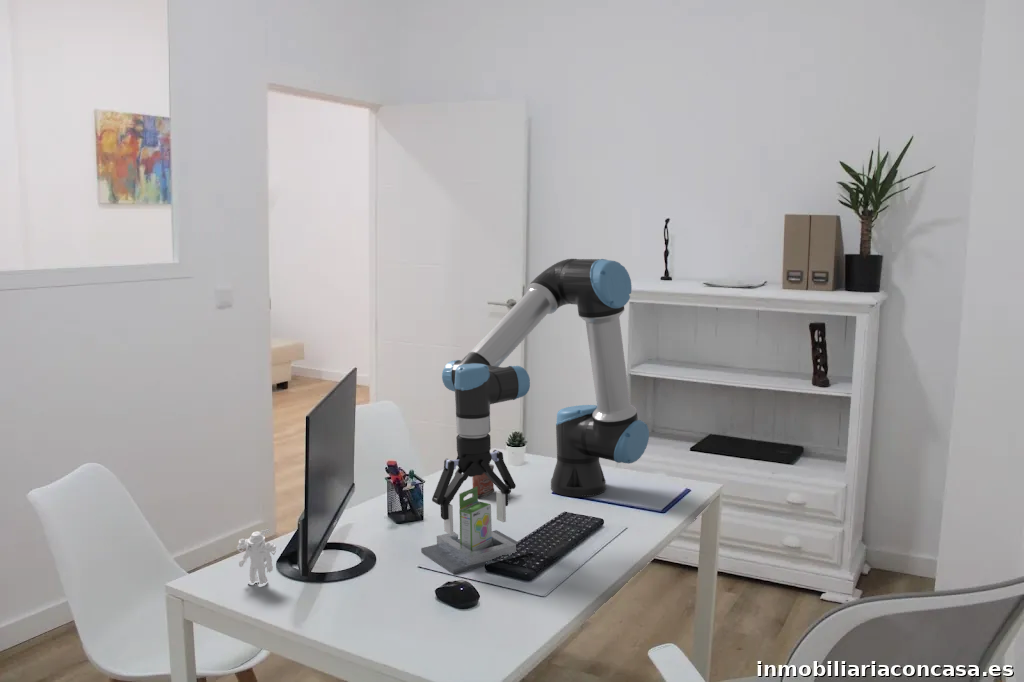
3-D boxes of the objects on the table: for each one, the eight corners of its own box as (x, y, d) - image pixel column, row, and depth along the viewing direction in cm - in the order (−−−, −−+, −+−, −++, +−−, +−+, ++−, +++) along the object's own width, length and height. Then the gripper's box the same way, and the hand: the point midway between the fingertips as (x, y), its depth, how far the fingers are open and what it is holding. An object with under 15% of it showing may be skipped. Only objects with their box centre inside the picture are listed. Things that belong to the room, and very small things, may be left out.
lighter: (487, 489, 246) (486, 454, 244) (497, 491, 244) (496, 456, 242) (469, 497, 239) (468, 461, 238) (479, 499, 237) (478, 463, 236)
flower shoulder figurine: (281, 583, 185) (278, 527, 183) (270, 590, 182) (267, 534, 180) (246, 577, 188) (242, 523, 187) (234, 584, 185) (230, 529, 183)
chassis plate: (496, 534, 211) (496, 522, 211) (531, 553, 199) (531, 540, 198) (421, 552, 201) (420, 539, 200) (453, 574, 188) (452, 560, 188)
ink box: (473, 555, 196) (472, 496, 194) (459, 551, 198) (458, 493, 196) (492, 545, 201) (491, 488, 199) (478, 542, 204) (477, 485, 202)
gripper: (511, 423, 206) (513, 511, 209) (414, 439, 192) (418, 532, 195) (529, 429, 199) (531, 520, 202) (430, 446, 186) (433, 543, 189)
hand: (475, 526), depth 199 cm, fingers open, 13 cm apart
